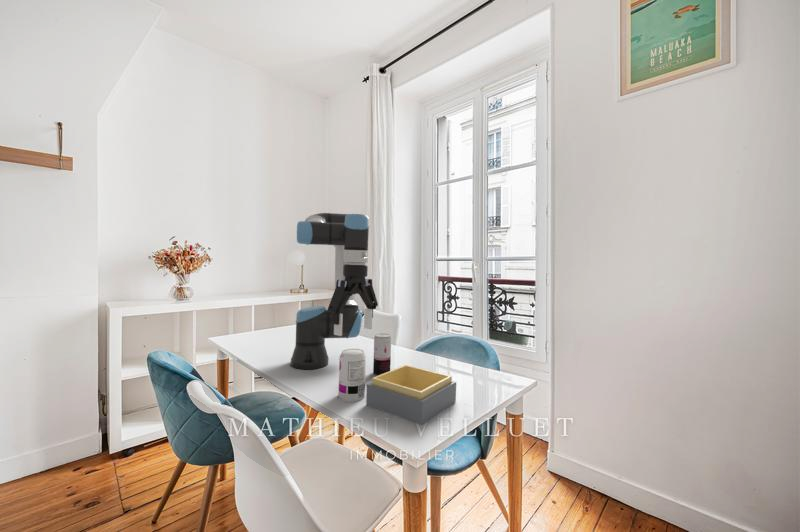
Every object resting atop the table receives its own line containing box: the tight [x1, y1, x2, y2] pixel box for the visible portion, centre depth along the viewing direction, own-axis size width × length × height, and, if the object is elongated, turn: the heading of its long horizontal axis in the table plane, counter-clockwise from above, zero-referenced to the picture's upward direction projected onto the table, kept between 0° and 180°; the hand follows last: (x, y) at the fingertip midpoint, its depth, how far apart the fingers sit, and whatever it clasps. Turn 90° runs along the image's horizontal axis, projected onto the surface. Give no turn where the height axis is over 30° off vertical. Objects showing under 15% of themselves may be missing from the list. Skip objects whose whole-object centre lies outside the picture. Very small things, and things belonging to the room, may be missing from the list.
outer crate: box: [365, 380, 457, 425], centre depth 108 cm, size 20×20×7 cm
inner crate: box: [371, 364, 453, 400], centre depth 108 cm, size 17×17×8 cm
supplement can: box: [337, 348, 367, 403], centre depth 112 cm, size 8×8×15 cm
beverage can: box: [372, 332, 392, 377], centre depth 137 cm, size 6×7×15 cm
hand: (353, 331), depth 111 cm, fingers open, 13 cm apart
